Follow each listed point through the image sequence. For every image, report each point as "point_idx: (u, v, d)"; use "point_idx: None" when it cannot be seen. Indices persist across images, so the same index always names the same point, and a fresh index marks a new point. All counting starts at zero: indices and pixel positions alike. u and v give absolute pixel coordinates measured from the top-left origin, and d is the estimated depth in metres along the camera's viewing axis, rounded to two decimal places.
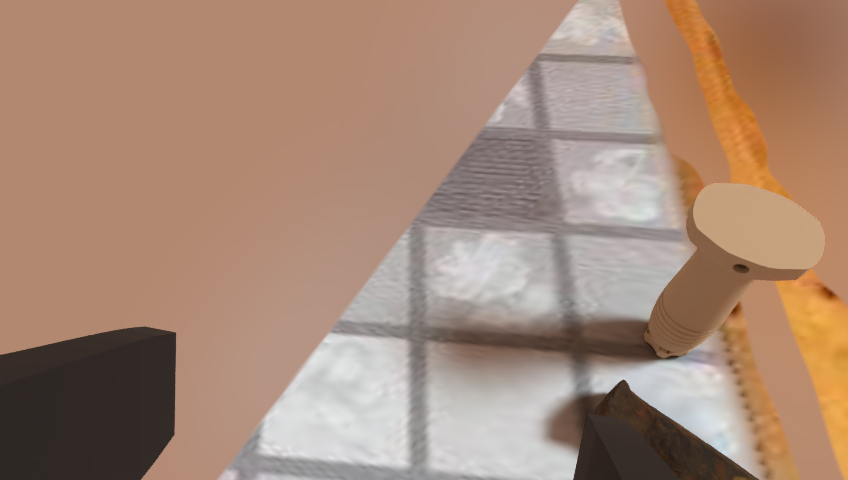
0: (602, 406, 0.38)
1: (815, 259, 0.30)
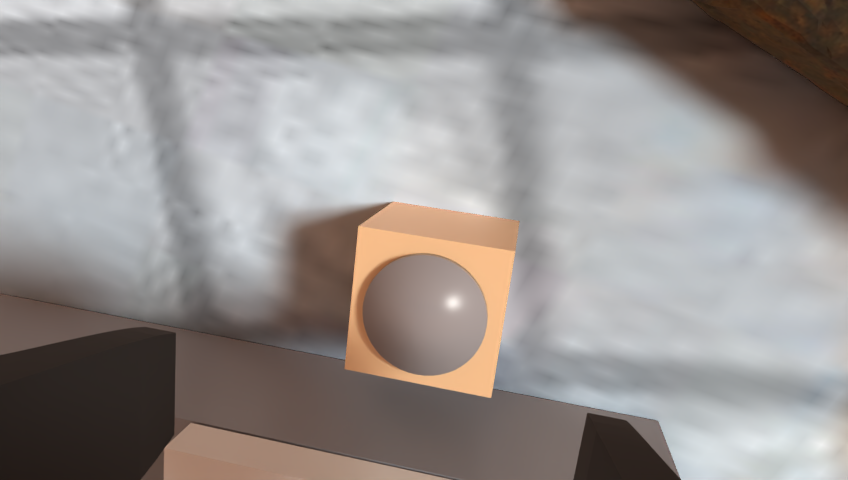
0: None
1: None
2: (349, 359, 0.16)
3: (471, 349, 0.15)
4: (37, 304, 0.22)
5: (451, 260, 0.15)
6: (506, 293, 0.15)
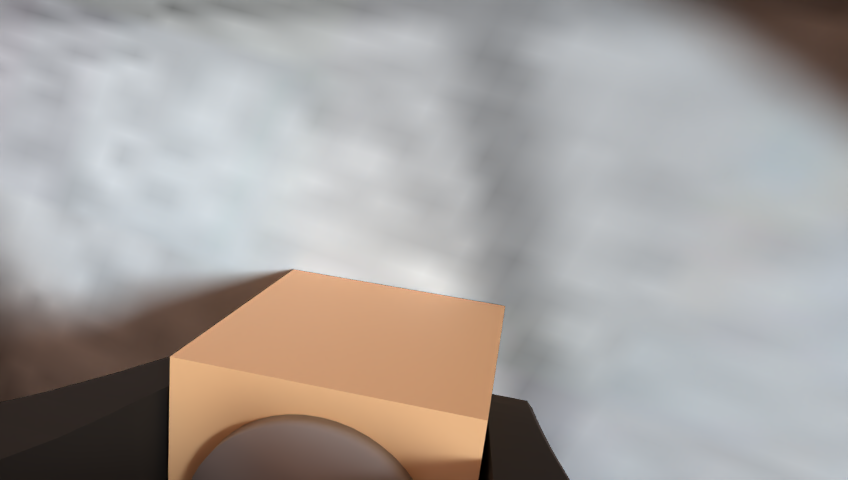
0: None
1: None
2: None
3: None
4: None
5: (357, 432, 0.07)
6: None
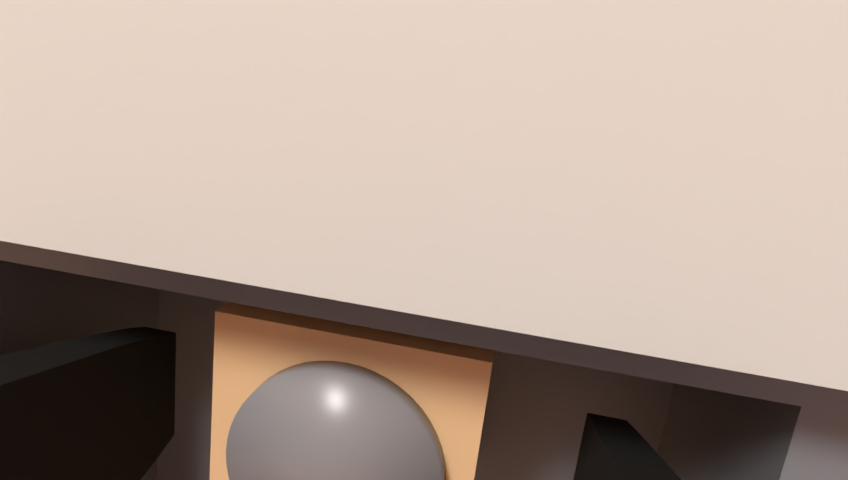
0: None
1: None
2: None
3: None
4: None
5: (379, 375, 0.08)
6: (477, 435, 0.08)
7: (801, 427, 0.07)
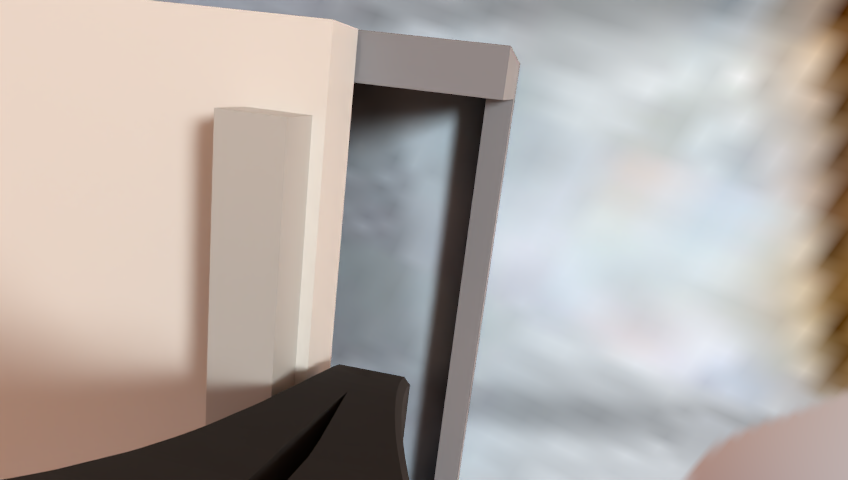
0: None
1: None
2: None
3: None
4: None
5: None
6: None
7: None
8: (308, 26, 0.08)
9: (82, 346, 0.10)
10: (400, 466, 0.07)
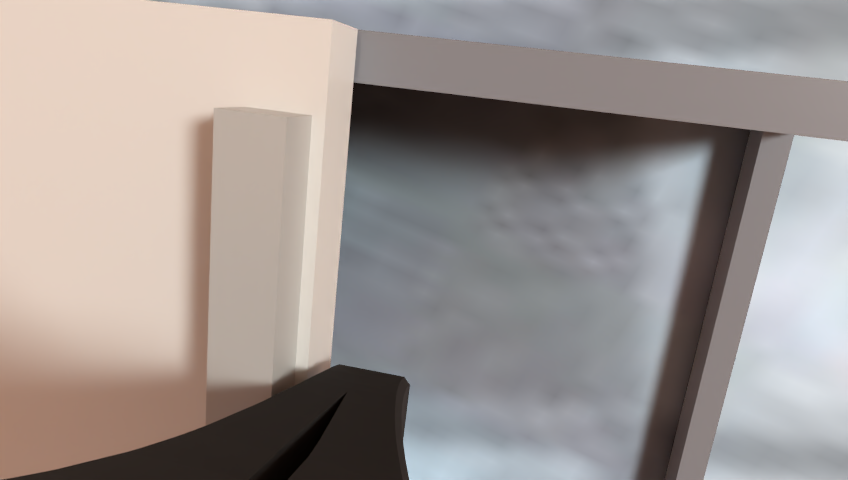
0: None
1: None
2: None
3: None
4: None
5: None
6: None
7: None
8: (308, 26, 0.08)
9: (82, 346, 0.10)
10: (400, 466, 0.07)
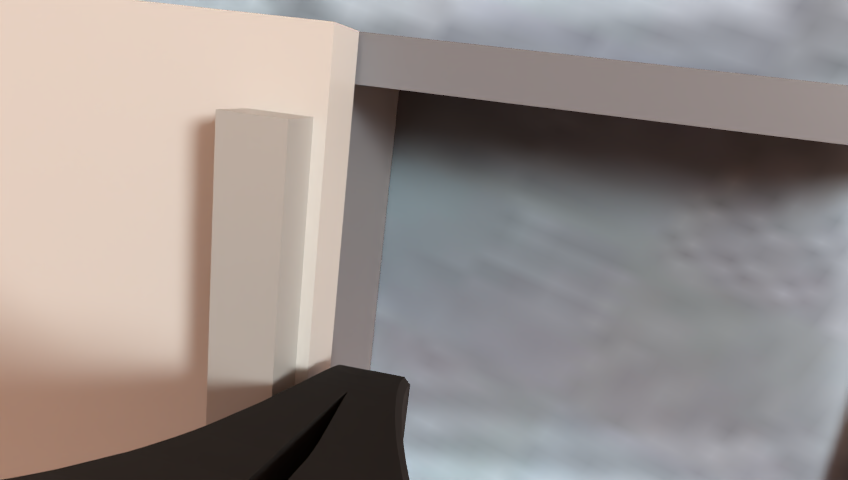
0: None
1: None
2: None
3: None
4: None
5: None
6: None
7: None
8: (309, 28, 0.08)
9: (82, 346, 0.10)
10: (400, 466, 0.07)
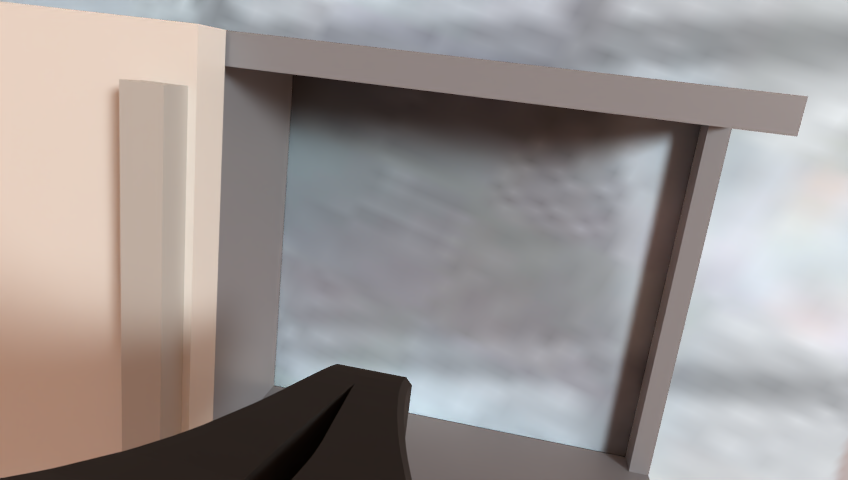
0: None
1: None
2: None
3: None
4: None
5: None
6: None
7: None
8: (183, 28, 0.13)
9: (42, 247, 0.15)
10: (403, 467, 0.07)
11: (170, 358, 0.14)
